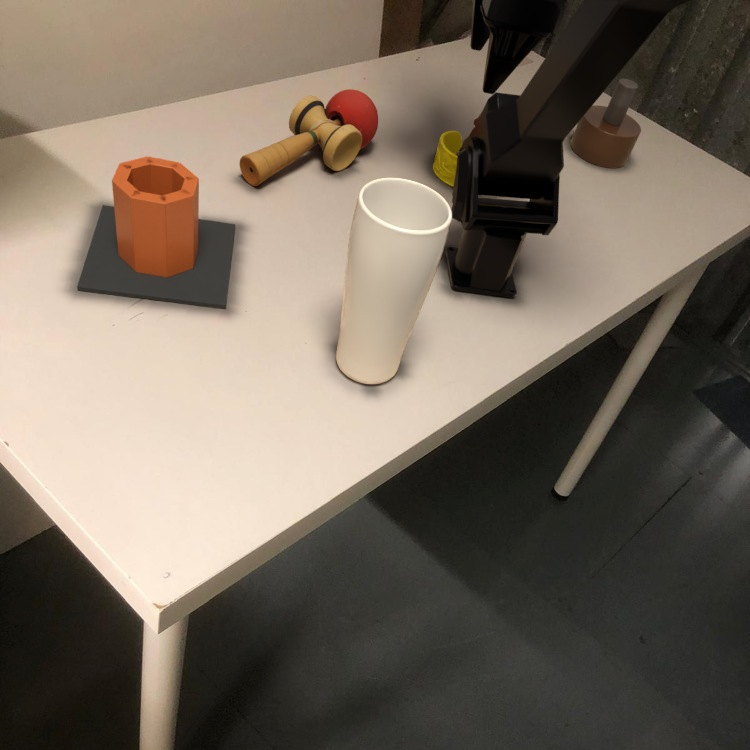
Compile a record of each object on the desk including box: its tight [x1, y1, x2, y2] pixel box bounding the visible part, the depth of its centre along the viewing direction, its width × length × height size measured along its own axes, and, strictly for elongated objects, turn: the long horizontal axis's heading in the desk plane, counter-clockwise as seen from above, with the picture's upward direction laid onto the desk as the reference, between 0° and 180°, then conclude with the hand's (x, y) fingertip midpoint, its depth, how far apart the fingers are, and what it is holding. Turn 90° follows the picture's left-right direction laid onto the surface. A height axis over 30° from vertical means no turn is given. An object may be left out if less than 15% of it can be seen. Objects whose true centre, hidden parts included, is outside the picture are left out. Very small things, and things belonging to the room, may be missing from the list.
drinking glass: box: [335, 177, 453, 385], centre depth 57 cm, size 7×7×15 cm
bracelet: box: [432, 130, 463, 188], centre depth 84 cm, size 7×8×3 cm
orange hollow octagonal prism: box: [111, 156, 200, 277], centre depth 63 cm, size 6×6×7 cm
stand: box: [569, 78, 642, 169], centre depth 92 cm, size 8×8×8 cm
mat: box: [76, 204, 236, 310], centre depth 66 cm, size 12×12×1 cm
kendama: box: [239, 88, 379, 187], centre depth 79 cm, size 8×6×18 cm
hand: (481, 70), depth 72 cm, fingers open, 9 cm apart
